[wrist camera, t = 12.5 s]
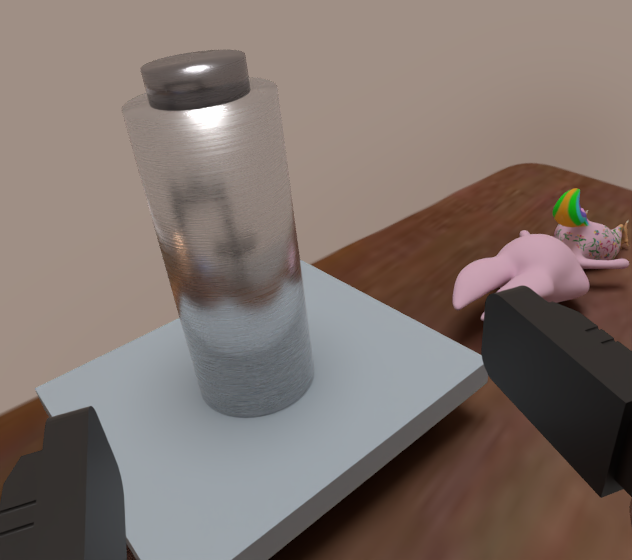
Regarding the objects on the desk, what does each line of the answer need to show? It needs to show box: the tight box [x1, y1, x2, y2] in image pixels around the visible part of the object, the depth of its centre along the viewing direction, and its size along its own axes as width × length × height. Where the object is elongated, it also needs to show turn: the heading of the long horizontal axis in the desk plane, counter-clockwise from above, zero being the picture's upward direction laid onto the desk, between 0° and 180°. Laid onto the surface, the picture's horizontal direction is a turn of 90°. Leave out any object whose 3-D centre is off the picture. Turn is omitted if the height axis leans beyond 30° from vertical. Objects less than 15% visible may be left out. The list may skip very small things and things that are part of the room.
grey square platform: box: [35, 260, 488, 560], centre depth 23 cm, size 14×12×3 cm
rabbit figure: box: [453, 188, 629, 321], centre depth 30 cm, size 6×6×15 cm
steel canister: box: [122, 50, 314, 418], centre depth 19 cm, size 5×5×12 cm
